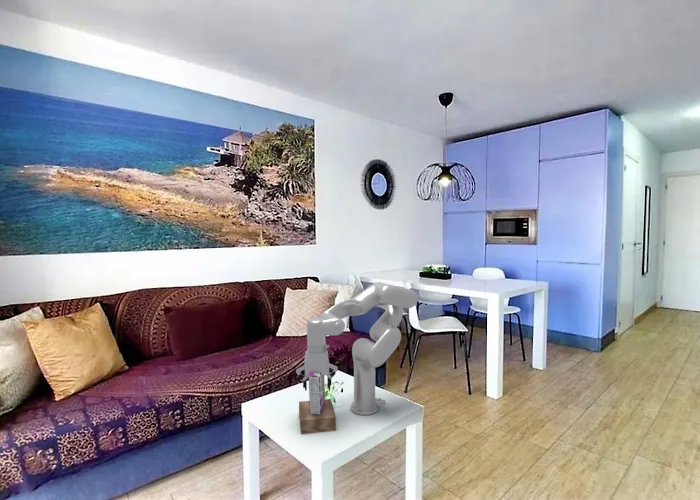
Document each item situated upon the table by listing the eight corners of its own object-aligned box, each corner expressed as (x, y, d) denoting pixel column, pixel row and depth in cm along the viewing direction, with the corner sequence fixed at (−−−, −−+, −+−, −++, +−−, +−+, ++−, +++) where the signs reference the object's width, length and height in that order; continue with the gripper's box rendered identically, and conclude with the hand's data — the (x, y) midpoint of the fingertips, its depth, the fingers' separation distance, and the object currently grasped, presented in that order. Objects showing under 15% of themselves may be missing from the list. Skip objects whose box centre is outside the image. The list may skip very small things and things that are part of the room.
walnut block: (330, 412, 165) (330, 399, 165) (335, 431, 150) (335, 417, 149) (299, 414, 163) (299, 401, 162) (300, 435, 147) (300, 420, 147)
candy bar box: (314, 402, 162) (313, 365, 161) (325, 402, 162) (324, 365, 161) (309, 415, 151) (308, 375, 150) (321, 415, 150) (320, 375, 149)
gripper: (336, 343, 159) (336, 382, 160) (295, 346, 156) (296, 386, 158) (338, 349, 152) (339, 390, 153) (295, 352, 149) (296, 394, 150)
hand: (317, 388), depth 155 cm, fingers open, 9 cm apart
